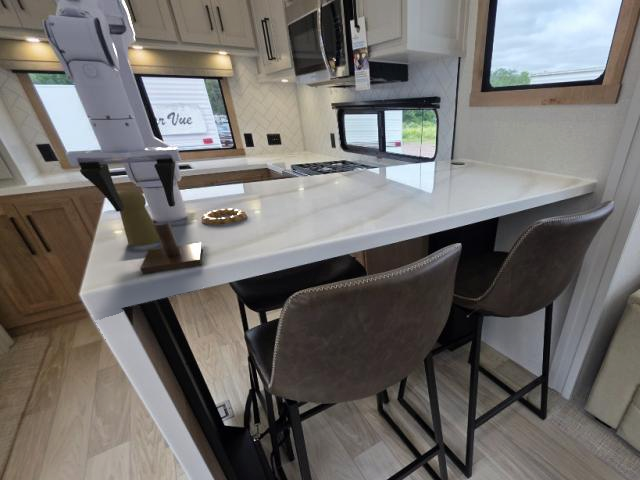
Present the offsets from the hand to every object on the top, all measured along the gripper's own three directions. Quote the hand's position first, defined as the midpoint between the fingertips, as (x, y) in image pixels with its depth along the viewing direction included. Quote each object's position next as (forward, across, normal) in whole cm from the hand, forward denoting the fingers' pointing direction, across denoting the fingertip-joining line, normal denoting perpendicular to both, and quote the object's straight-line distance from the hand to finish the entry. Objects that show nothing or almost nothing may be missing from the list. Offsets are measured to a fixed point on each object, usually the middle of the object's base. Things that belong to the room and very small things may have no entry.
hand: (147, 207), depth 57 cm
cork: (+10, -5, +10) cm, 15 cm away
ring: (+9, +10, +20) cm, 24 cm away
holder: (+10, +2, -1) cm, 10 cm away
